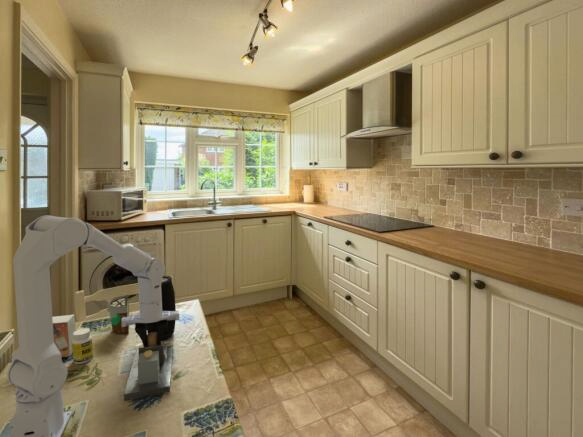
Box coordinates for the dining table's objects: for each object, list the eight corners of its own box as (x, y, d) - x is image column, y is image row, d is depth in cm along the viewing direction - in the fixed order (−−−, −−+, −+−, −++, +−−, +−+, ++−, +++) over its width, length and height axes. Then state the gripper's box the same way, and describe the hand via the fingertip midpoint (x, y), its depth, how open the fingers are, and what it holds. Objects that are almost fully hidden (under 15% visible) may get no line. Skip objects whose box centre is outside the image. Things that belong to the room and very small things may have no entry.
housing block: (158, 381, 79) (157, 355, 78) (138, 384, 78) (137, 358, 77) (159, 370, 83) (158, 346, 83) (141, 374, 82) (139, 349, 81)
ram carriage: (163, 363, 87) (162, 341, 86) (139, 367, 85) (138, 344, 84) (165, 350, 93) (164, 329, 92) (142, 354, 91) (141, 332, 90)
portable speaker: (145, 333, 106) (141, 276, 104) (174, 327, 111) (172, 272, 108) (146, 345, 99) (143, 284, 96) (178, 338, 103) (176, 279, 101)
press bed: (170, 391, 78) (169, 381, 77) (124, 400, 75) (123, 389, 74) (173, 349, 96) (172, 341, 96) (136, 355, 93) (136, 346, 93)
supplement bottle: (83, 365, 88) (81, 336, 87) (69, 363, 89) (66, 334, 88) (97, 356, 93) (95, 328, 92) (83, 354, 94) (81, 326, 93)
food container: (110, 323, 113) (108, 296, 112) (129, 320, 116) (128, 294, 114) (106, 339, 102) (104, 309, 101) (128, 336, 105) (126, 306, 103)
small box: (37, 360, 90) (34, 325, 89) (46, 350, 96) (43, 316, 94) (70, 356, 93) (67, 321, 91) (77, 346, 98) (74, 313, 97)
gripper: (178, 292, 94) (180, 336, 96) (123, 297, 90) (126, 343, 91) (178, 301, 87) (180, 348, 89) (118, 307, 83) (122, 356, 85)
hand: (152, 346), depth 90 cm, fingers closed on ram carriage, 3 cm apart
